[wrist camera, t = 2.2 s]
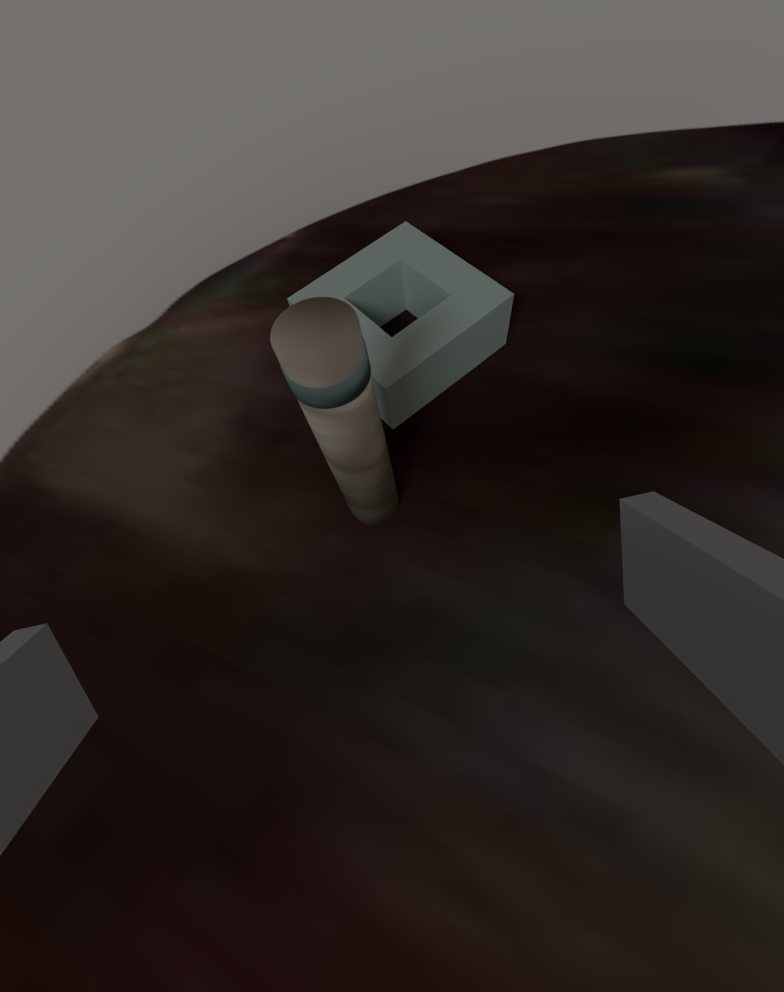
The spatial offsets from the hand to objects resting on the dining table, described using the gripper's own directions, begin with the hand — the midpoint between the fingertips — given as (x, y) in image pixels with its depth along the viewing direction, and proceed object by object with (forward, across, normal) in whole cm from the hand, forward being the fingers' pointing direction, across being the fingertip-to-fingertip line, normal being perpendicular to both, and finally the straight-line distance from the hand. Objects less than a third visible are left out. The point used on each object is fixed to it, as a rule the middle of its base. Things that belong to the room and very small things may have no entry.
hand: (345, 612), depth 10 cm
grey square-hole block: (+28, +5, +5) cm, 28 cm away
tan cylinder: (+19, 0, -4) cm, 19 cm away
